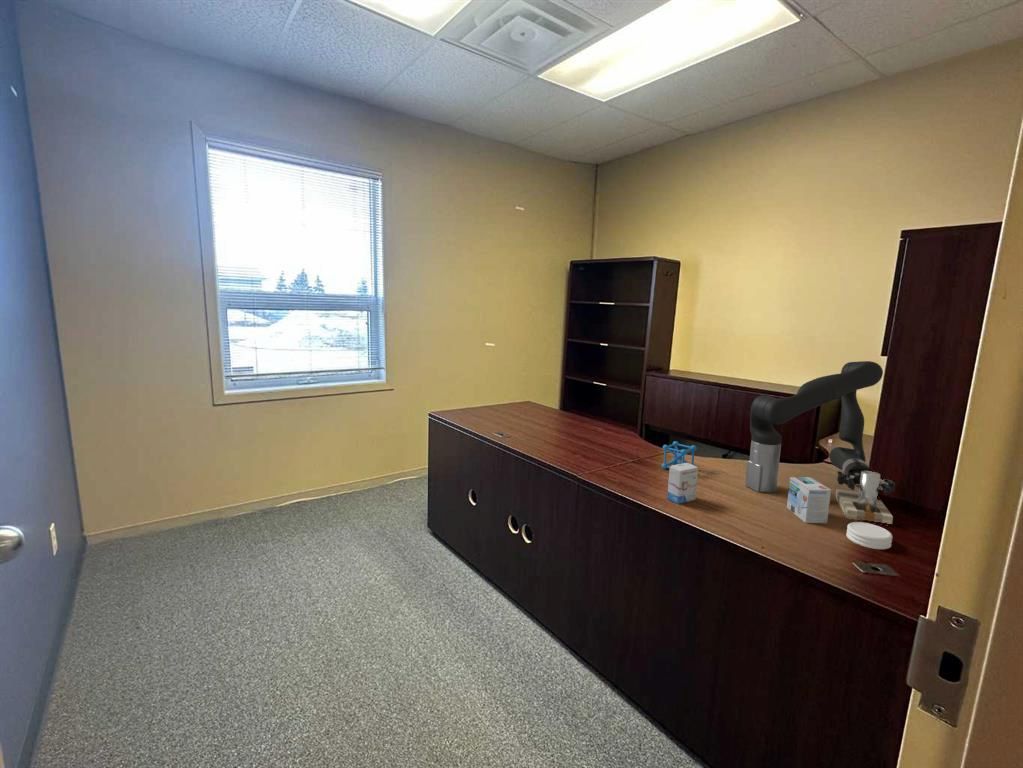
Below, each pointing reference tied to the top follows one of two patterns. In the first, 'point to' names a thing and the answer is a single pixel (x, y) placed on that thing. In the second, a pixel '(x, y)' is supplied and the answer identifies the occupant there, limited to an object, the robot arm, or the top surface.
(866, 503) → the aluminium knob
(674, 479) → the ink box
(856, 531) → the coaster
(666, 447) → the molecular structure
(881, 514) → the hub plate
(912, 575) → the top surface
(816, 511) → the light bulb box
